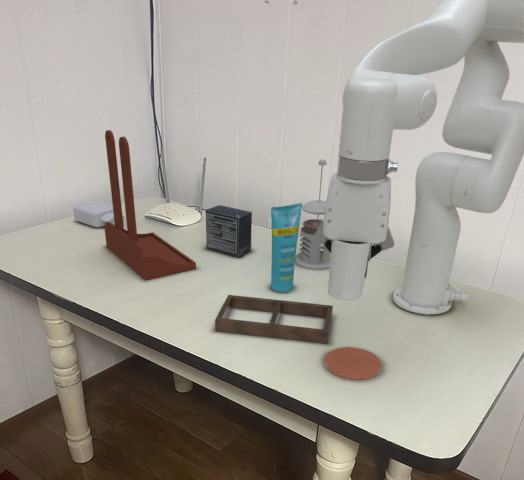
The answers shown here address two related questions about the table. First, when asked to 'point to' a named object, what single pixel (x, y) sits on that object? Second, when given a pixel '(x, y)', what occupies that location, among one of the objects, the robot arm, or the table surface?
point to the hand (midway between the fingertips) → (349, 278)
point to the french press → (310, 247)
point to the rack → (274, 319)
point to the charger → (94, 213)
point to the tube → (284, 245)
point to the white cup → (347, 269)
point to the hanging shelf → (128, 241)
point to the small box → (228, 230)
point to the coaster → (353, 363)
